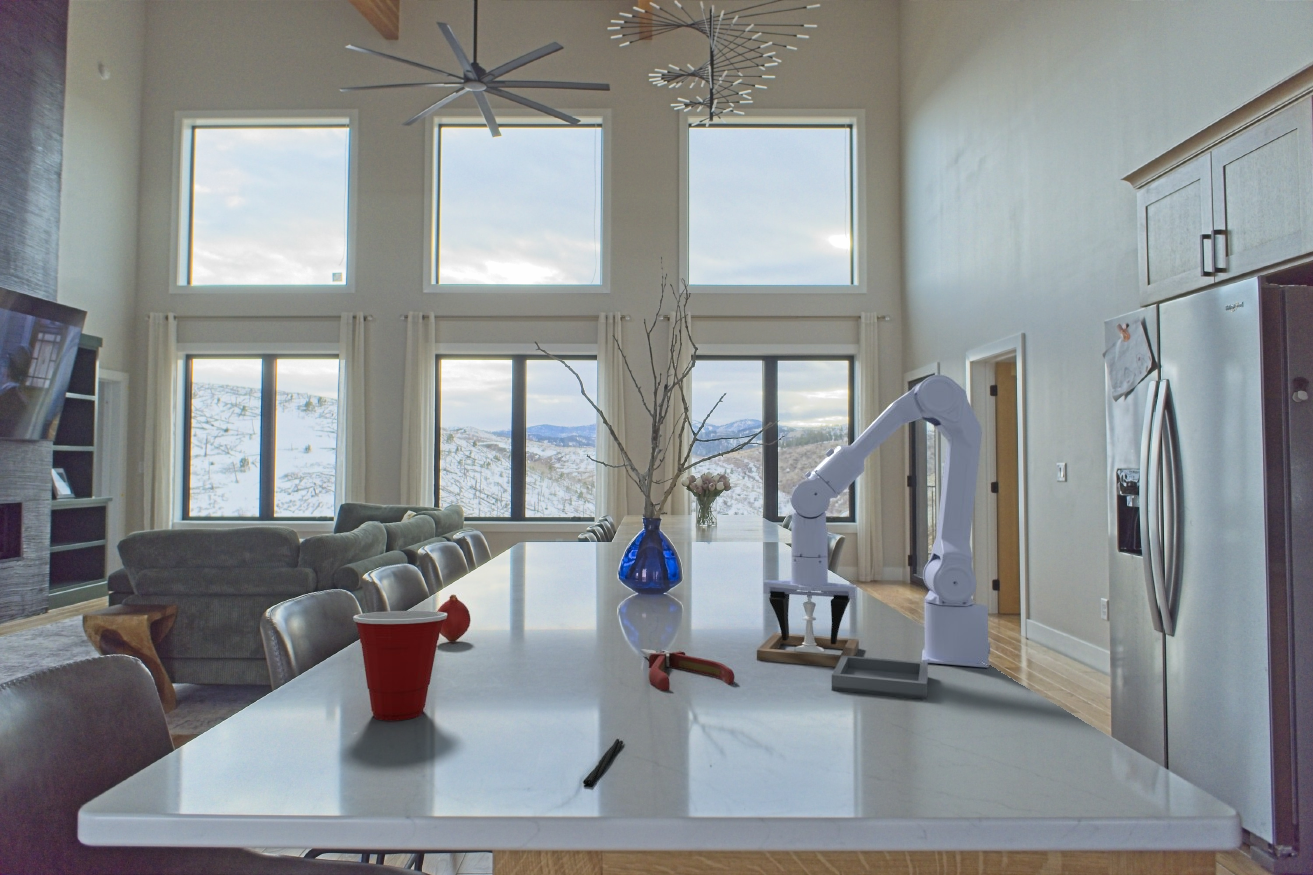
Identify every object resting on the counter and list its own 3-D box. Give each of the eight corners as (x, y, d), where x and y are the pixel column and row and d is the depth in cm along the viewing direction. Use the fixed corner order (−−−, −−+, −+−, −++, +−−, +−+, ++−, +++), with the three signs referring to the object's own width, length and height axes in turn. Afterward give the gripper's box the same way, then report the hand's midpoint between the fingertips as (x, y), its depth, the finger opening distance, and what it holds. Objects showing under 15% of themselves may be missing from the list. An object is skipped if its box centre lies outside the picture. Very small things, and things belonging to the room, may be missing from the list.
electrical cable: (616, 744, 85) (616, 735, 85) (625, 745, 85) (625, 736, 85) (582, 789, 73) (582, 778, 73) (592, 790, 73) (592, 779, 73)
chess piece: (821, 650, 129) (820, 588, 130) (828, 657, 125) (828, 593, 125) (790, 650, 129) (790, 588, 130) (797, 657, 124) (797, 593, 125)
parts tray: (927, 676, 113) (927, 662, 113) (926, 699, 102) (926, 683, 102) (841, 668, 117) (841, 655, 117) (831, 689, 106) (831, 674, 106)
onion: (433, 639, 135) (434, 592, 136) (468, 637, 137) (469, 590, 137) (435, 646, 130) (436, 597, 130) (471, 644, 131) (472, 596, 132)
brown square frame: (858, 648, 131) (858, 639, 131) (849, 668, 118) (849, 657, 118) (774, 641, 136) (774, 632, 136) (756, 659, 123) (756, 649, 123)
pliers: (683, 654, 128) (683, 638, 128) (738, 687, 109) (738, 668, 109) (614, 660, 124) (614, 644, 124) (659, 696, 105) (659, 676, 105)
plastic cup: (453, 699, 100) (455, 603, 101) (436, 726, 90) (438, 619, 90) (365, 700, 99) (367, 604, 100) (337, 728, 89) (340, 620, 89)
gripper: (759, 556, 126) (759, 642, 126) (853, 560, 121) (853, 650, 121) (768, 551, 133) (768, 633, 132) (857, 555, 128) (857, 640, 127)
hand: (809, 641), depth 127 cm, fingers open, 7 cm apart
